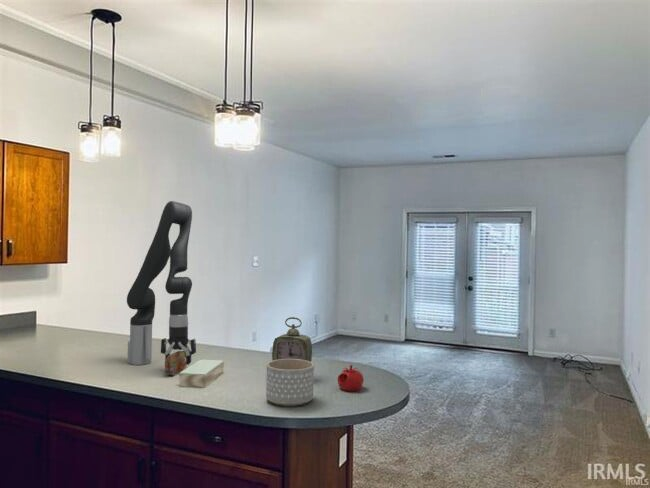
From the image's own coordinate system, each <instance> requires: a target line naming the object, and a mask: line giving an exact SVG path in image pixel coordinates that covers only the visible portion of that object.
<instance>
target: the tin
mask: <svg viewBox="0 0 650 488" xmlns="http://www.w3.org/2000/svg"><path fill="white" fill-rule="evenodd" d="M187 366H188V365H187V354H186V353H185V352H184V351H183V350H178V351H175V352H174V353H170V355H169V356H168V357H167V358H166V360H165V361H164V370H165V371H164V372H165V374H166V375H167V376H177V375H178V374H179V373H180V372H182V371H183V370H185V369H186V368H187Z"/></svg>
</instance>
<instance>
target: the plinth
mask: <svg viewBox="0 0 650 488" xmlns="http://www.w3.org/2000/svg"><path fill="white" fill-rule="evenodd" d="M224 364H225V362H224V360H217V359H216V360H215V359H214V360H213V359H200V360H198V361H196V362H194V363H193V364H192V365H190V366H188V367H186V368H185V370H183V371H182V372H180V373H178V374H179V377H178V378H179V380H178V381H179V382H178V386H179V387H185V388H186V387H191V388H206V387H207V386H208V385H209V386H210V384H211V383H213V382H214V381H215V380H216V379H218V378H220V376H221V375H223V373H224Z"/></svg>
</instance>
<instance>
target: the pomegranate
mask: <svg viewBox="0 0 650 488" xmlns="http://www.w3.org/2000/svg"><path fill="white" fill-rule="evenodd" d="M361 372H362V371H360V370H359V369H358V368H357V367H354V368H353V365H352V364H351V365H349V369H348V368H347V367H344V369H343V370H342V371H341V373H340V374H339V375H338V376H337V384H338V387H339V389H341V390H343V391H346V392H351V391H352V392H357V391H361V389H362V387H363V384H364V376H363V374H362V373H361Z"/></svg>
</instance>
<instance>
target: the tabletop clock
mask: <svg viewBox="0 0 650 488" xmlns="http://www.w3.org/2000/svg"><path fill="white" fill-rule="evenodd" d="M289 320H297V321H299V323H300V324H299V325H295V324H294V323H293V324H291V325H290V324H287V321H289ZM284 324H285V325H286V326H287V327H288V328H289V329H288V330H287V332H286V333H284V334H281V335H279V336H277V337H276V338H274V340H273V342H272V343H273V344H272V353H271V357H272V358H271V359H272V360H271V361H273V360H279V359H301V360H307V361H310V362H312V360H313V359H312V358H313V347H312V346H313V344H312V340H311V339H312V338H311V337H310V336H308V335H304V334H300V331H299V330H298V329H297V328H300V327H301V326H302V324H303V323H302V320H301V319H300V318H298V317H293V316H292V317H290V316H289V317H288V318H286V319H285V321H284Z"/></svg>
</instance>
